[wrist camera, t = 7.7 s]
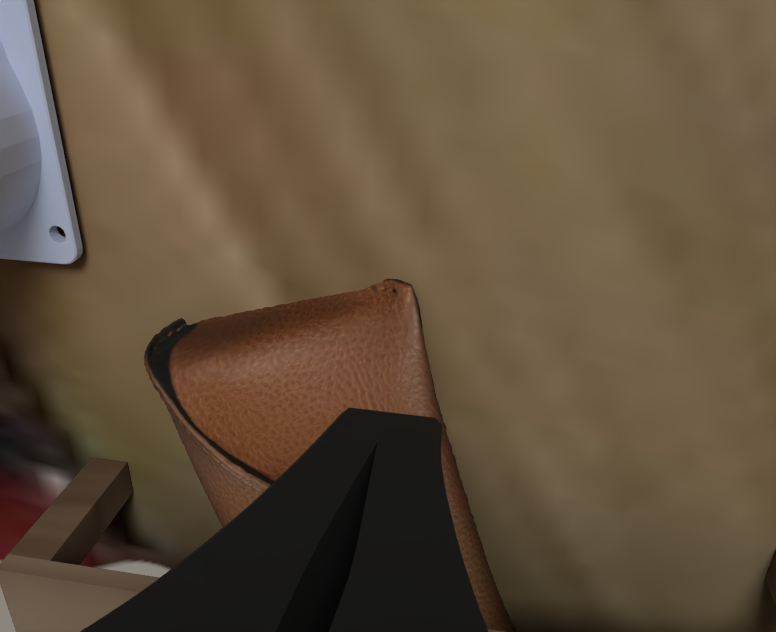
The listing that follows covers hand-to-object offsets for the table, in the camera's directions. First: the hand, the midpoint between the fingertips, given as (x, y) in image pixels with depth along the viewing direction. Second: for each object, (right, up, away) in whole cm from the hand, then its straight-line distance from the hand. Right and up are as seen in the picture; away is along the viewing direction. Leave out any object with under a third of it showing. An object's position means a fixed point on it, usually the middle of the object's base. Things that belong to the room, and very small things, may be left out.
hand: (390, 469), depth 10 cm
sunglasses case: (-1, -5, +15) cm, 16 cm away
